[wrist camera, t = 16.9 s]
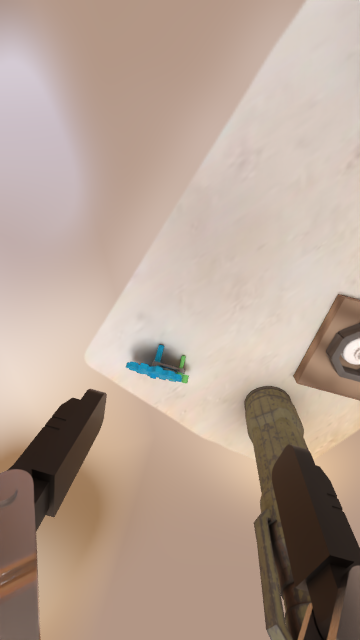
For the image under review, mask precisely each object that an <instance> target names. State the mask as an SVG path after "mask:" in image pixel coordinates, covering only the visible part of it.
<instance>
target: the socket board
mask: <svg viewBox="0 0 360 640" xmlns="http://www.w3.org/2000/svg"><path fill="white" fill-rule="evenodd" d="M358 338H360V300H358V299H355V298H351V297H347V296H343V295H339V294H338V296H337V298H336V299H335V301H334V303H333V305H332V307H331V309H330V310H329V312H328V314H327V316H326V318H325V319H324V321H323V323H322V325H321V327H320V329H319V330H318V332H317V334H316V336H315V338H314V340H313V341H312V343H311V345H310V347H309V349H308V351H307V352H306V354H305V356H304V358H303V360H302V362H301V363H300V365H299V367H298V369H297V371H296V373H295V374H294V378H295V380H296V382H297V384H301V385H305V386H308V387H312V388H316V389H319V390H323V391H327V392H331V393H334V394H338V395H342V396H345V397H349V398H353V399H357V400H360V364H359V365H355V364H351V363H349V362H347V361H346V360H344V359H343V357H342V356H341V354H342V352H343V350H344V349H345V347H346V346H347V344H348V342H350V341H353V340H355V339H358Z"/></svg>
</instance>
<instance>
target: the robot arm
mask: <svg viewBox="0 0 360 640" xmlns="http://www.w3.org/2000/svg"><path fill="white" fill-rule="evenodd" d="M105 403H106V393H103V392H100V391H96V390H93V389H89V390H87V392H86V393H85V394H84V396H83V397H82V399H81V400H79V399H76V398H71V399H70V400H68V401H67V402H65V403H64V404H62V405H61V406H60V407H59V408H58V410H57V411H56V412H55V413H54V414H53V416H52V418H50V420H49V421H48V422H47V423H46V425H45V427H43V428H42V430H41V431H40V432H39V433H38V435H37V436H36V437H35V438H34V440H33V441H32V442H31V443H30V445H29V446H28V447H27V449H26V450H25V451H24V452H23V454H22V455H21V456H20V457H19V459H18V460H17V461H16V462H15V464H14V465H13V466H12V467H11V468H9V469H8V470H7V471H5V472H2V473H0V640H41V639H40V617H39V592H38V569H37V543H36V531H37V529H38V527H39V526H40V524H41V522H42V520H43V518H44V517H45V515H48V516H51V517H55V515H56V513H57V511H58V509H59V507H60V505H61V504H62V502H63V500H64V498H65V496H66V494H67V492H68V490H69V488H70V486H71V484H72V482H73V480H74V479H75V477H76V474H77V473H78V471H79V469H80V467H81V465H82V463H83V461H84V459H85V458H86V456H87V454H88V452H89V450H90V448H91V446H92V444H93V442H94V440H95V438H96V436H97V435H98V433H99V431H100V428H101V426H102V422H103V419H104V411H105ZM272 484H273V488H274V493H275V497H276V502H277V506H278V511H279V516H280V520H281V525H282V529H283V534H284V539H285V543H286V548H287V552H288V557H289V561H290V566H291V571H292V575H293V580H294V584H295V588H297V589H301V590H304V591H308V592H309V595H310V599H311V602H310V604H309V605H308V607H307V610H306V614H305V617H304V620H303V623H302V627H301V630H300V633H299V637H298V640H360V548H359V546H358V543H357V541H356V539H355V536H354V534H353V532H352V530H351V528H350V525H349V523H348V520H347V518H346V516H345V514H344V512H343V511H342V507H341V504H340V502H339V500H338V499H337V495H336V493H335V491H334V488H333V486H332V484H331V481H330V480H329V479H328V477H327V476H326V475H325V473H324V472H323V470H322V469H321V468H320V467H319V466H316V465H315V463H314V460H313V458H312V456H311V453H310V452H309V450H307V449H305V448H301V447H298V446H294V445H290V444H288V445H287V446H286V447H285V448H284V450H283V452H282V453H281V455H280V456H279V458H278V459H277V461H276V463H275V464H274V466H273V469H272Z"/></svg>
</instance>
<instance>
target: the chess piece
mask: <svg viewBox="0 0 360 640" xmlns="http://www.w3.org/2000/svg"><path fill="white" fill-rule="evenodd" d="M341 356H342V357H343V359H344V360H346V361H347V362H349V363H351V364H355V365H359V364H360V338H358V339H355V340H353V341H350V342H348V344H347V346H346V347H345V349H344V350H343V352H342V354H341Z"/></svg>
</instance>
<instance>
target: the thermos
mask: <svg viewBox="0 0 360 640" xmlns="http://www.w3.org/2000/svg"><path fill="white" fill-rule="evenodd" d="M245 410H246V412H245V413H246V423H247V429H248V435H249V437H250V439H251V441H252V443H253V446H254V451H255V457H256V463H257V469H258V474H259V480H260V486H261V492H262V496H261V500H260V507H261V514H260V515H259V517H258V518H257V519H256V520H255V522H254V527H255V533H256V539H257V547H258V556H259V566H260V575H261V584H262V593H263V603H264V612H265V622H266V630H267V632H268V635H269V637H270V639H271V640H298V637H299V633H300V630H301V627H302V623H303V620H304V617H305V614H306V610H307V607H308V605H309V604H310V602H311V599H310V595H309V592H308V591H304V590H301V589H297V588H295V584H294V580H293V575H292V571H291V566H290V561H289V557H288V552H287V548H286V543H285V539H284V534H283V529H282V525H281V520H280V516H279V511H278V506H277V502H276V497H275V493H274V488H273V484H272V469H273V466H274V464H275V463H276V461H277V459H278V458H279V456H280V455H281V453H282V452H283V450H284V448H285V447H286V446H287V445H288V444H290V445H294V446H298V447H301V448H305V449H307V450H308V448H307V445H306V443H305V440H304V438H303V434H304V429H303V426H302V423H301V421H300V419H299V416H298V414H297V411H296V409H295V407H294V405H293V404H292V402H291V400H290V397H289V395H288V394H287V393H286V392H285V391H283V390H281V389H280V388H277V387H272V386H264V387H260V388H257V389H255V390H253V391H252V392H250V393H249V395H248V396H247V397H246V400H245ZM280 594H281V595H280ZM281 596H282V598H283V600H284V605H285V610H286V613H285V618H284V612H283V607H282V601H281ZM285 622H286V624H285Z"/></svg>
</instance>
